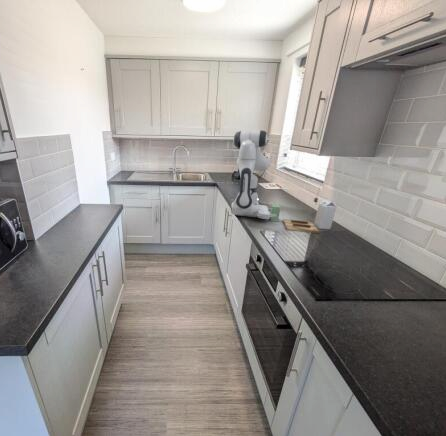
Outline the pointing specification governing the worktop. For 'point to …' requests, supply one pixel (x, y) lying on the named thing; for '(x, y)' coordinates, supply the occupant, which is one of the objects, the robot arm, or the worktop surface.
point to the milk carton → (325, 214)
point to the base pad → (300, 226)
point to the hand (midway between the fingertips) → (275, 213)
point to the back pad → (275, 212)
